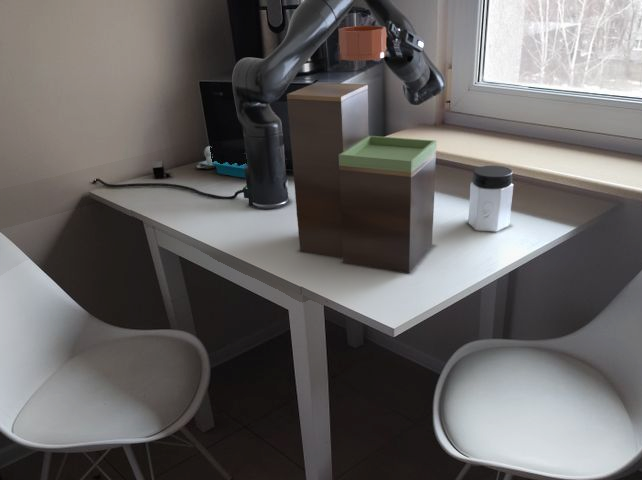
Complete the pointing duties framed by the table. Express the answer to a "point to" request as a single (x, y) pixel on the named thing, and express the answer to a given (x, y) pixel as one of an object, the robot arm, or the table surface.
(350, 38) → the saucepan
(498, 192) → the jar
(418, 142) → the tray
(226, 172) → the ice cube tray
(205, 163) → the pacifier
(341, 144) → the stand
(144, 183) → the robot arm
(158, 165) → the wireless earbuds
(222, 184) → the table surface
